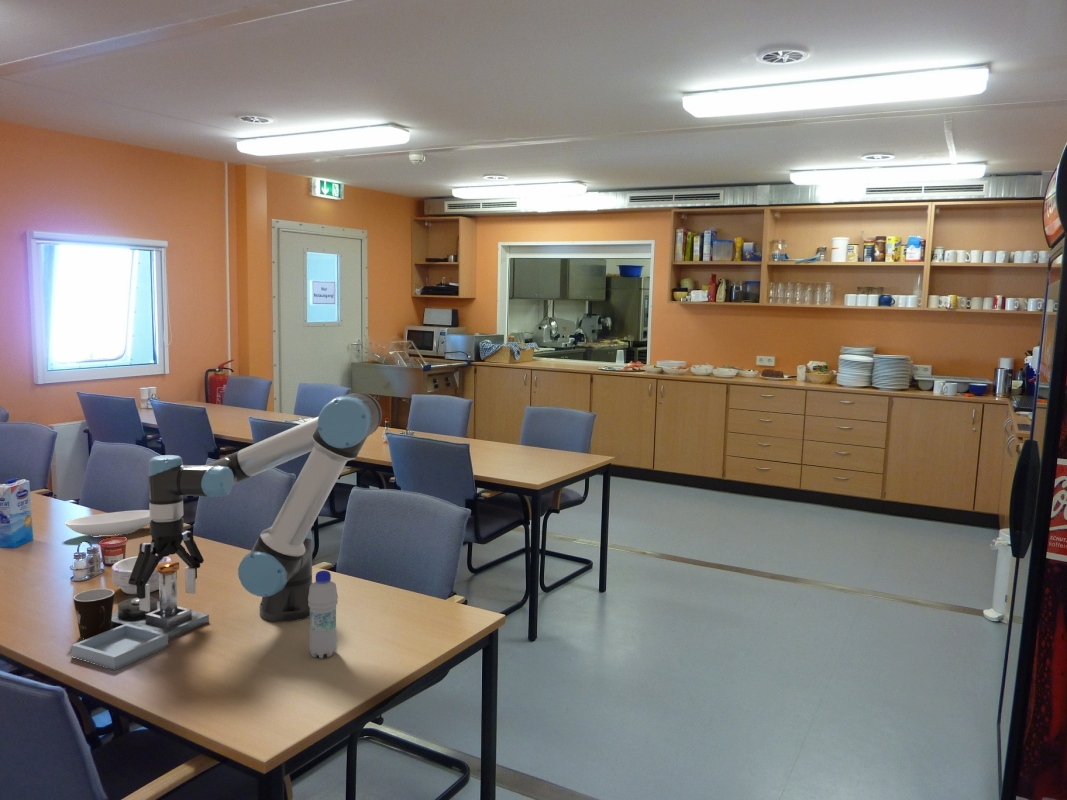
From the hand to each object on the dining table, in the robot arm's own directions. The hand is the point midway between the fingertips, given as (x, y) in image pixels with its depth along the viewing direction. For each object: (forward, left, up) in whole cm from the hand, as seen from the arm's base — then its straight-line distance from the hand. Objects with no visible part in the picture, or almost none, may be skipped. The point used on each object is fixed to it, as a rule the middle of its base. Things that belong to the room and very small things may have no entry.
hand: (168, 601), depth 190 cm
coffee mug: (+11, +12, -7) cm, 18 cm away
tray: (-2, +15, -7) cm, 17 cm away
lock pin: (0, 0, -5) cm, 5 cm away
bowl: (+85, -50, -7) cm, 99 cm away
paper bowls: (+29, -16, -7) cm, 34 cm away
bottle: (-44, -5, -7) cm, 45 cm away
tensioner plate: (+5, 0, -7) cm, 8 cm away
